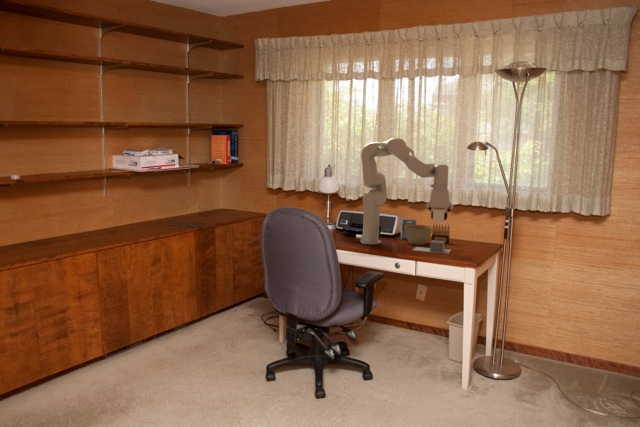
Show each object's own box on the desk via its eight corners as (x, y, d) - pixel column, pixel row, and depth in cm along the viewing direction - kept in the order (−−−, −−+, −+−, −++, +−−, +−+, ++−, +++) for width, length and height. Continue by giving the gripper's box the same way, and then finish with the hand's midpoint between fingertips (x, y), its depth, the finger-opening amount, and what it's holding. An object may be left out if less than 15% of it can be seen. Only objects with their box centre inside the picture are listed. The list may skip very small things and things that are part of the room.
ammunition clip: (431, 242, 344) (432, 223, 342) (431, 242, 346) (432, 223, 344) (449, 244, 341) (450, 224, 340) (449, 243, 343) (450, 224, 341)
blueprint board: (411, 252, 314) (411, 250, 314) (415, 248, 325) (415, 246, 325) (448, 255, 308) (448, 253, 307) (450, 251, 319) (451, 249, 319)
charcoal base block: (429, 251, 313) (430, 242, 313) (431, 248, 320) (432, 240, 319) (442, 252, 311) (443, 243, 310) (444, 249, 318) (444, 241, 317)
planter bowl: (398, 243, 338) (398, 225, 336) (415, 241, 348) (416, 223, 347) (418, 248, 326) (419, 229, 324) (436, 245, 336) (437, 227, 335)
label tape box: (414, 238, 359) (415, 219, 357) (415, 239, 355) (416, 219, 353) (400, 237, 358) (401, 218, 357) (401, 239, 354) (402, 219, 353)
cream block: (432, 221, 311) (433, 210, 310) (434, 220, 317) (434, 209, 316) (443, 222, 309) (444, 211, 308) (445, 220, 315) (445, 210, 314)
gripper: (423, 187, 310) (422, 219, 312) (455, 188, 304) (454, 221, 307) (425, 186, 317) (424, 217, 319) (457, 187, 311) (455, 219, 314)
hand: (439, 219), depth 313 cm, fingers closed on cream block, 6 cm apart
